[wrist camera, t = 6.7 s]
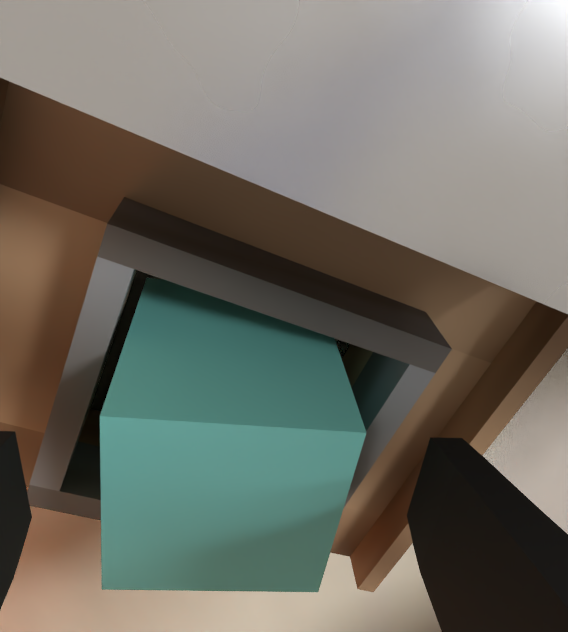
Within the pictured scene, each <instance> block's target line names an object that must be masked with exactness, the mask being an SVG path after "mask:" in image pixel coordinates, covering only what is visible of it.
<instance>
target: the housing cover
mask: <svg viewBox="0 0 568 632" xmlns="http://www.w3.org/2000/svg"><path fill="white" fill-rule="evenodd" d="M0 78H3V79H5V80H7V81H10V82H12V83H15V84H17V85H19V86H22V87H24V88H27V89H29V90H31V91H34V92H36V93H39V94H41V95H43V96H46V97H48V98H51V99H53V100H55V101H58V102H60V103H62V104H65V105H67V106H70V107H72V108H74V109H77V110H79V111H82V112H84V113H86V114H89V115H91V116H94V117H96V118H98V119H101V120H103V121H106V122H108V123H110V124H113V125H115V126H118V127H120V128H122V129H125V130H127V131H130V132H132V133H134V134H137V135H139V136H142V137H144V138H146V139H149V140H151V141H154V142H156V143H158V144H161V145H163V146H166V147H168V148H170V149H173V150H175V151H178V152H180V153H182V154H185V155H187V156H190V157H192V158H194V159H197V160H199V161H202V162H204V163H206V164H209V165H211V166H213V167H216V168H218V169H221V170H223V171H225V172H228V173H230V174H233V175H235V176H237V177H240V178H242V179H245V180H247V181H249V182H252V183H254V184H257V185H259V186H261V187H264V188H266V189H269V190H271V191H273V192H276V193H278V194H281V195H283V196H285V197H288V198H290V199H293V200H295V201H297V202H300V203H302V204H305V205H307V206H309V207H312V208H314V209H317V210H319V211H321V212H324V213H326V214H329V215H331V216H333V217H336V218H338V219H341V220H343V221H345V222H348V223H350V224H353V225H355V226H357V227H360V228H362V229H364V230H367V231H369V232H372V233H374V234H376V235H379V236H381V237H384V238H386V239H388V240H391V241H393V242H396V243H398V244H400V245H403V246H405V247H408V248H410V249H412V250H415V251H417V252H420V253H422V254H424V255H427V256H429V257H432V258H434V259H436V260H439V261H441V262H444V263H446V264H448V265H451V266H453V267H456V268H458V269H460V270H463V271H465V272H468V273H470V274H472V275H475V276H477V277H480V278H482V279H484V280H487V281H489V282H492V283H494V284H496V285H499V286H501V287H503V288H506V289H508V290H511V291H513V292H515V293H518V294H520V295H523V296H525V297H527V298H530V299H532V300H535V301H537V302H539V303H542V304H544V305H547V306H549V307H551V308H554V309H556V310H559V311H561V312H563V313H566V314H568V0H0Z"/></svg>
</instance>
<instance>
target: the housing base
mask: <svg viewBox="0 0 568 632" xmlns="http://www.w3.org/2000/svg"><path fill="white" fill-rule="evenodd" d="M137 270H138V271H141V272H144V273H147V274H149V275H152V276H155V277H158V278H161V279H164V280H167V281H170V282H173V283H176V284H178V285H181V286H184V287H187V288H190V289H193V290H196V291H199V292H202V293H204V294H207V295H210V296H213V297H216V298H219V299H222V300H225V301H228V302H231V303H233V304H236V305H239V306H242V307H245V308H248V309H251V310H254V311H257V312H260V313H262V314H265V315H268V316H271V317H274V318H277V319H280V320H283V321H286V322H289V323H291V324H294V325H297V326H300V327H303V328H306V329H309V330H312V331H315V332H317V333H320V334H323V335H326V336H329V337H332V338H335V339H338V340H341V341H344V342H346V343H349V344H350V346H349V348H348V349H347V351H346V353H345V355H344V356H343V358H342V362H343V365H344V368H345V371H346V374H347V377H348V380H349V383H350V385H351V388H352V391H353V394H354V397H355V400H356V403H357V406H358V409H359V412H360V415H361V418H362V421H363V424H364V427H365V430H366V436H365V439H364V443H363V446H362V449H361V453H360V456H359V459H358V462H357V466H356V469H355V472H354V476H353V479H352V482H351V485H350V489H349V492H348V495H347V499H346V502H345V505H344V508H343V512H342V515H341V518H340V522H339V525H338V528H337V531H336V535H335V538H334V541H333V545H332V548H331V551H330V552H332V553H336V554H341V555H345V556H350V558H351V563H352V567H353V571H354V576H355V580H356V584H357V589H360V590H365V591H370V592H374V591H375V589H376V588H377V587H378V586H379V584H380V583H381V582H382V581H383V579H384V578H385V577H386V576H387V574H388V573H389V572H390V571H391V569H392V568H393V567H394V566H395V564H396V563H397V562H398V561H399V559H400V558H401V557H402V555H403V554H404V553H405V552H406V550H407V549H408V548H409V547H410V545H411V544H412V543H413V541H412V537H411V532H410V528H409V524H408V519H407V512H408V509H409V506H410V502H411V499H412V496H413V493H414V489H415V486H416V483H417V479H418V476H419V473H420V470H421V466H422V463H423V460H424V457H425V453H426V450H427V447H428V443H429V440H430V437H432V438H463V439H464V440H465V441H466V442H467V443H468V444H470V445H471V446H472V447H473V448H474V449H475V450H476V451H477V452H478V453H480V454H481V455H483V454H484V452H485V451H486V450H487V449H488V447H489V446H490V445H491V444H492V442H493V441H494V440H495V439H496V437H497V436H498V435H499V434H500V432H501V431H502V430H503V429H504V427H505V426H506V425H507V424H508V422H509V421H510V420H511V418H512V417H513V416H514V415H515V413H516V412H517V411H518V410H519V408H520V407H521V406H522V405H523V403H524V402H525V401H526V400H527V398H528V397H529V396H530V395H531V393H532V392H533V391H534V390H535V388H536V387H537V386H538V385H539V383H540V382H541V381H542V380H543V378H544V377H545V376H546V375H547V373H548V372H549V371H550V369H551V368H552V367H553V366H554V364H555V363H556V362H557V361H558V359H559V358H560V357H561V356H562V354H563V353H564V352H565V351H566V349H567V348H568V314H566V313H563V312H561V311H559V310H556V309H554V308H551V307H549V306H547V305H544V304H542V303H539V302H537V301H535V300H532V299H530V298H527V297H525V296H523V295H520V294H518V293H515V292H513V291H511V290H508V289H506V288H503V287H501V286H499V285H496V284H494V283H492V282H489V281H487V280H484V279H482V278H480V277H477V276H475V275H472V274H470V273H468V272H465V271H463V270H460V269H458V268H456V267H453V266H451V265H448V264H446V263H444V262H441V261H439V260H436V259H434V258H432V257H429V256H427V255H424V254H422V253H420V252H417V251H415V250H412V249H410V248H408V247H405V246H403V245H400V244H398V243H396V242H393V241H391V240H388V239H386V238H384V237H381V236H379V235H376V234H374V233H372V232H369V231H367V230H364V229H362V228H360V227H357V226H355V225H353V224H350V223H348V222H345V221H343V220H341V219H338V218H336V217H333V216H331V215H329V214H326V213H324V212H321V211H319V210H317V209H314V208H312V207H309V206H307V205H305V204H302V203H300V202H297V201H295V200H293V199H290V198H288V197H285V196H283V195H281V194H278V193H276V192H273V191H271V190H269V189H266V188H264V187H261V186H259V185H257V184H254V183H252V182H249V181H247V180H245V179H242V178H240V177H237V176H235V175H233V174H230V173H228V172H225V171H223V170H221V169H218V168H216V167H213V166H211V165H209V164H206V163H204V162H202V161H199V160H197V159H194V158H192V157H190V156H187V155H185V154H182V153H180V152H178V151H175V150H173V149H170V148H168V147H166V146H163V145H161V144H158V143H156V142H154V141H151V140H149V139H146V138H144V137H142V136H139V135H137V134H134V133H132V132H130V131H127V130H125V129H122V128H120V127H118V126H115V125H113V124H110V123H108V122H106V121H103V120H101V119H98V118H96V117H94V116H91V115H89V114H86V113H84V112H82V111H79V110H77V109H74V108H72V107H70V106H67V105H65V104H62V103H60V102H58V101H55V100H53V99H51V98H48V97H46V96H43V95H41V94H39V93H36V92H34V91H31V90H29V89H27V88H24V87H22V86H19V85H17V84H15V83H12V82H10V81H7V80H5V79H3V78H0V431H15V433H16V438H17V443H18V448H19V453H20V459H21V464H22V469H23V474H24V479H25V484H26V486H28V487H29V488H28V491H27V495H28V500H29V505H30V506H34V507H39V508H44V509H49V510H53V511H58V512H63V513H68V514H73V515H77V516H82V517H87V518H92V519H97V520H101V480H100V414H101V411H98V410H94V409H90V408H91V405H92V402H93V399H94V396H95V393H96V390H97V387H98V384H99V381H100V378H101V375H102V372H103V369H104V366H105V363H106V360H107V357H108V354H109V351H110V349H111V346H112V343H113V340H114V337H115V334H116V331H117V328H118V325H119V322H120V319H121V316H122V313H123V310H124V307H125V304H126V301H127V298H128V295H129V292H130V289H131V286H132V284H133V281H134V278H135V275H136V272H137Z"/></svg>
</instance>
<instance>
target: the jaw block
mask: <svg viewBox="0 0 568 632" xmlns="http://www.w3.org/2000/svg"><path fill="white" fill-rule="evenodd" d="M365 436H366V430H365V427H364V424H363V421H362V418H361V415H360V412H359V409H358V406H357V403H356V400H355V397H354V394H353V391H352V388H351V385H350V383H349V380H348V377H347V374H346V371H345V368H344V365H343V362H342V359H341V356H340V353H339V350H338V347H337V344H336V341H335V338H332V337H329V336H326V335H323V334H320V333H317V332H315V331H312V330H309V329H306V328H303V327H300V326H297V325H294V324H291V323H289V322H286V321H283V320H280V319H277V318H274V317H271V316H268V315H265V314H262V313H260V312H257V311H254V310H251V309H248V308H245V307H242V306H239V305H236V304H233V303H231V302H228V301H225V300H222V299H219V298H216V297H213V296H210V295H207V294H204V293H202V292H199V291H196V290H193V289H190V288H187V287H184V286H181V285H178V284H176V283H173V282H170V281H167V280H164V279H154V278H146V281H145V284H144V287H143V290H142V293H141V296H140V299H139V302H138V305H137V308H136V311H135V314H134V317H133V319H132V322H131V325H130V328H129V331H128V334H127V337H126V340H125V343H124V346H123V349H122V352H121V355H120V358H119V361H118V364H117V367H116V370H115V373H114V376H113V378H112V381H111V384H110V387H109V390H108V393H107V396H106V399H105V402H104V405H103V408H102V411H101V414H100V480H101V563H102V589H109V590H191V591H273V592H318V591H319V587H320V584H321V581H322V577H323V574H324V571H325V568H326V564H327V561H328V558H329V554H330V551H331V548H332V545H333V541H334V538H335V535H336V531H337V528H338V525H339V522H340V518H341V515H342V512H343V508H344V505H345V502H346V499H347V495H348V492H349V489H350V485H351V482H352V479H353V476H354V472H355V469H356V466H357V462H358V459H359V456H360V453H361V449H362V446H363V443H364V439H365Z"/></svg>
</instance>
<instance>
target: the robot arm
mask: <svg viewBox="0 0 568 632" xmlns="http://www.w3.org/2000/svg"><path fill="white" fill-rule="evenodd" d="M31 518H32V515H31V510H30V505H29V500H28V495H27V490H26V484H25V479H24V474H23V469H22V464H21V459H20V453H19V448H18V443H17V438H16V433H15V431H0V609H1V606H2V604H3V602H4V599H5V597H6V595H7V592H8V590H9V588H10V585H11V583H12V580H13V578H14V575H15V572H16V568H17V565H18V562H19V559H20V556H21V552H22V549H23V546H24V542H25V539H26V535H27V532H28V528H29V525H30V521H31ZM407 519H408V524H409V528H410V532H411V537H412V541H413V546H414V550H415V553H416V557H417V561H418V565H419V569H420V572H421V575H422V578H423V581H424V584H425V587H426V589H427V592H428V595H429V598H430V600H431V603H432V606H433V609H434V611H435V614H436V617H437V619H438V622H439V625H440V628H441V630H442V632H568V534H567V533H566V532H564V531H563V530H562V529H561V528H560V527H559V526H558V525H557V524H555V523H554V522H553V521H552V520H551V519H550V518H549V517H548V516H547V515H545V514H544V513H543V512H542V511H541V510H540V509H539V508H538V507H537V506H536V505H534V504H533V503H532V502H531V501H530V500H529V499H528V498H527V497H526V496H525V495H524V494H523V493H521V492H520V491H519V490H518V489H517V488H516V487H515V486H514V485H513V484H512V483H511V482H510V481H509V480H508V479H506V478H505V477H504V476H503V475H502V474H501V473H500V472H499V471H498V470H497V469H496V468H495V467H494V466H493V465H491V464H490V463H489V462H488V461H487V460H486V459H485V458H484V457H483V456H482V455H481V454H480V453H478V452H477V451H476V450H475V449H474V448H473V447H472V446H471V445H470V444H468V443H467V442H466V441H465V440H464V439H463V438H432V437H430V440H429V443H428V447H427V450H426V453H425V457H424V460H423V463H422V466H421V470H420V473H419V476H418V479H417V483H416V486H415V489H414V493H413V496H412V499H411V502H410V506H409V509H408V512H407Z"/></svg>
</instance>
